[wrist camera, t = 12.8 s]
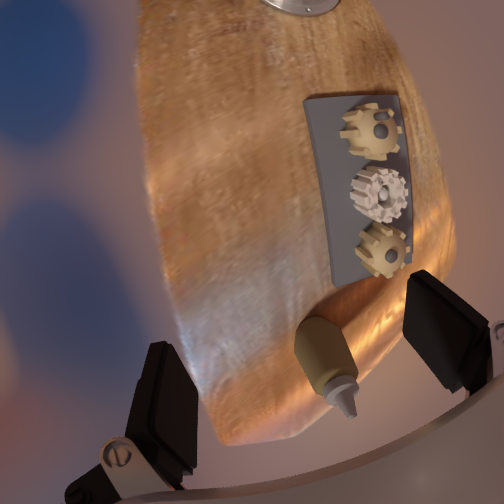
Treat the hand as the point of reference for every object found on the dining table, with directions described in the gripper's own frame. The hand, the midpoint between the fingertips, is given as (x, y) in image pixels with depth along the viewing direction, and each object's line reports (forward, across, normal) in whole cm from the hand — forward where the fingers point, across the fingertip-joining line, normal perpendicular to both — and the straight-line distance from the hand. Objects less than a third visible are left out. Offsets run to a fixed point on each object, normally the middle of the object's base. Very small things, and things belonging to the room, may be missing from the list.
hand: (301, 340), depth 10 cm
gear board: (+26, -17, +2) cm, 31 cm away
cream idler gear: (+25, -17, +2) cm, 30 cm away
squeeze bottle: (+26, -6, +23) cm, 36 cm away
